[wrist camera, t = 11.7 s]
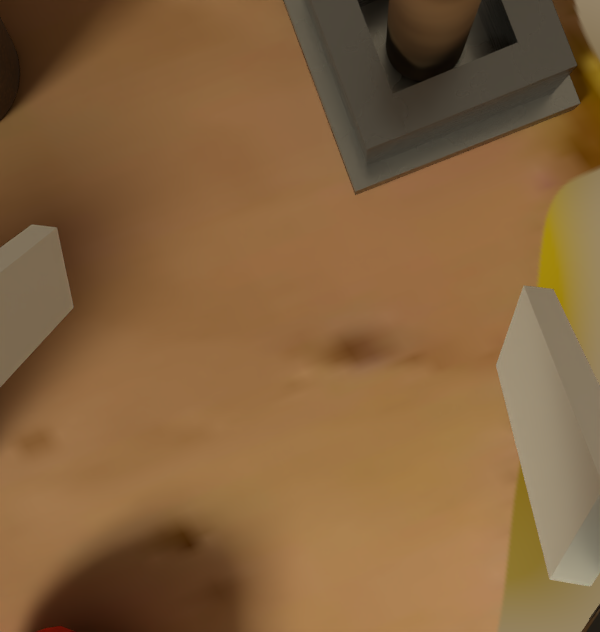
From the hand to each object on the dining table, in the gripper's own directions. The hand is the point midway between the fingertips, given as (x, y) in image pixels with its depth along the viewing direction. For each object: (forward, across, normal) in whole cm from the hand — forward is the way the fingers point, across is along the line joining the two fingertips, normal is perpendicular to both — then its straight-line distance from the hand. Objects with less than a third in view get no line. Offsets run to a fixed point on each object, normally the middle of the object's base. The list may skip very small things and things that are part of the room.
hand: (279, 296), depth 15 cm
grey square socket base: (+20, +4, +4) cm, 20 cm away
